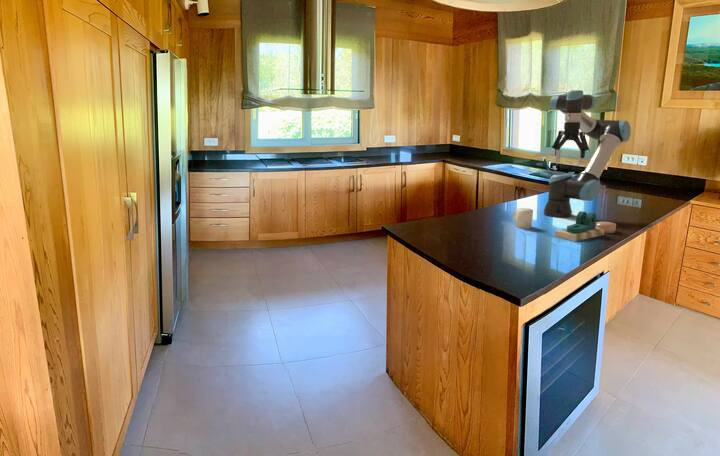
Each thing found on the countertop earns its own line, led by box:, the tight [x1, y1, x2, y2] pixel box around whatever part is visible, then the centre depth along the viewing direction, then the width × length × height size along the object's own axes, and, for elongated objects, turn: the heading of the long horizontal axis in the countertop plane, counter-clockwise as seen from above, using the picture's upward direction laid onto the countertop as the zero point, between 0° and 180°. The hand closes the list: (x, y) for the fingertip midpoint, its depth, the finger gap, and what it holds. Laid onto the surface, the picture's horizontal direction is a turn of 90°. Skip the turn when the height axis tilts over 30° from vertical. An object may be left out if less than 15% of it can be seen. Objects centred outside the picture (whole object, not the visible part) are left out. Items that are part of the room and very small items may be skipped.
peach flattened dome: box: [596, 221, 617, 234], centre depth 249 cm, size 9×9×4 cm
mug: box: [512, 207, 534, 230], centre depth 259 cm, size 8×11×9 cm
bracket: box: [566, 211, 597, 234], centre depth 239 cm, size 18×7×8 cm, turn 131°
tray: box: [554, 228, 605, 242], centre depth 241 cm, size 22×11×3 cm, turn 121°
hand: (568, 163), depth 260 cm, fingers open, 13 cm apart
